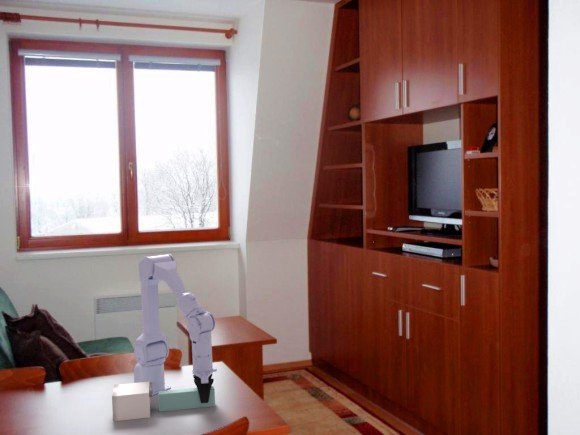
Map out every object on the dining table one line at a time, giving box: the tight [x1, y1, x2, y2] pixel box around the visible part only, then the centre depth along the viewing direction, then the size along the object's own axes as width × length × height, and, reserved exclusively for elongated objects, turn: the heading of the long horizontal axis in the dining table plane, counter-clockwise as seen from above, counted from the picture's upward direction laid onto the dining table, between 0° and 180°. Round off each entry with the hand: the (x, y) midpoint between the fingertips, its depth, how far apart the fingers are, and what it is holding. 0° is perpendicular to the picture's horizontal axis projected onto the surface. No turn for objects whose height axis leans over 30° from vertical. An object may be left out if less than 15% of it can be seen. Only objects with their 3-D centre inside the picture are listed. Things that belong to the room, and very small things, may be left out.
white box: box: [111, 381, 153, 422], centre depth 182 cm, size 11×11×7 cm
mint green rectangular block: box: [158, 385, 216, 412], centre depth 185 cm, size 16×3×5 cm, turn 102°
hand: (204, 400), depth 186 cm, fingers closed on mint green rectangular block, 3 cm apart
